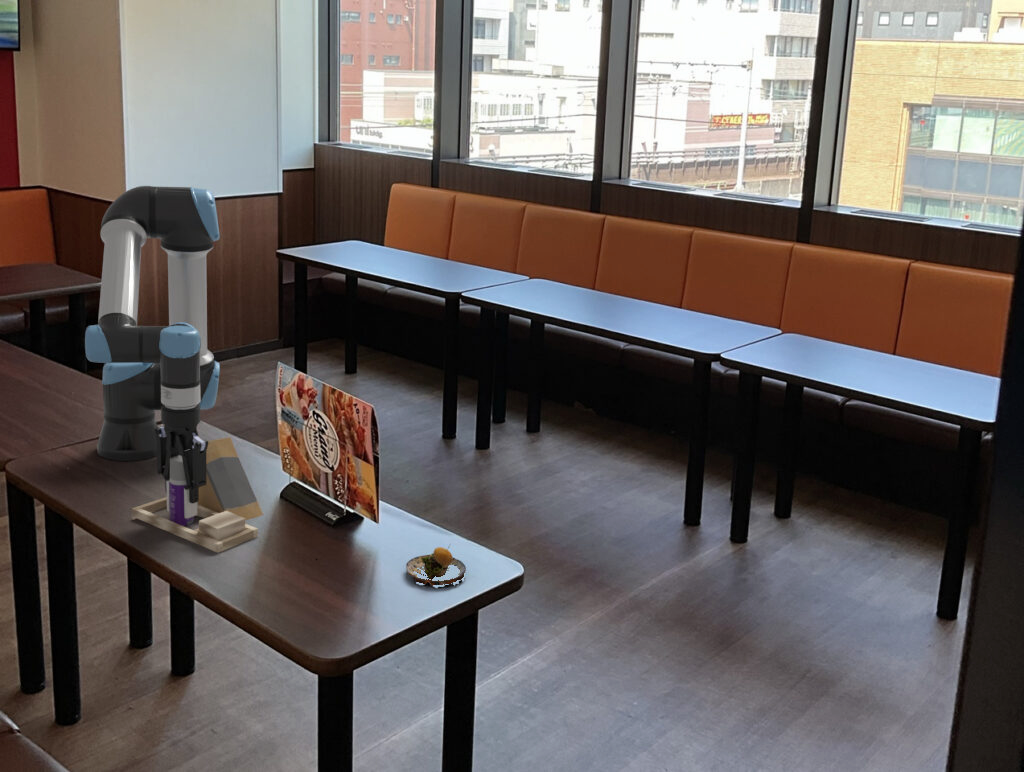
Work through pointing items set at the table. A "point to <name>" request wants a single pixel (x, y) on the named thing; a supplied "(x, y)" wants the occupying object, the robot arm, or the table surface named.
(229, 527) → the offcut top
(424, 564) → the plate of food
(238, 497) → the sandwich container
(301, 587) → the table surface
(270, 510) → the table surface
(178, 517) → the container
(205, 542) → the frame
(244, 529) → the block
